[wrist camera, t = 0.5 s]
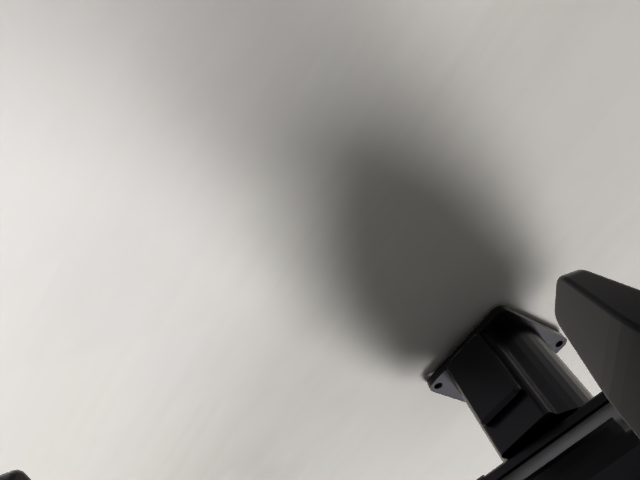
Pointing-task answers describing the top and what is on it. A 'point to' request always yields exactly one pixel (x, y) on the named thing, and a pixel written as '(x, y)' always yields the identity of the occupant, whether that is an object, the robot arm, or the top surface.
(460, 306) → the top surface
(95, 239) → the top surface
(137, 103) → the top surface
